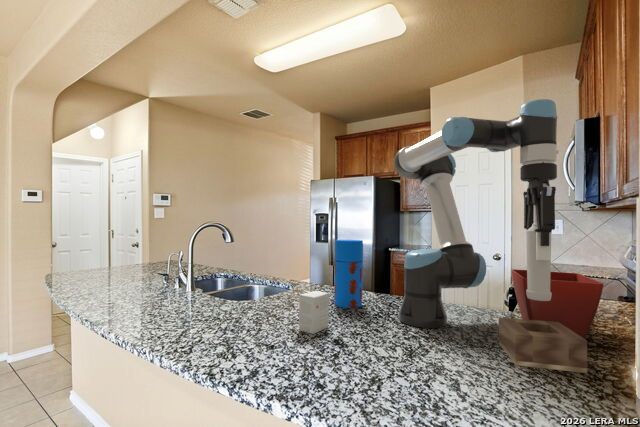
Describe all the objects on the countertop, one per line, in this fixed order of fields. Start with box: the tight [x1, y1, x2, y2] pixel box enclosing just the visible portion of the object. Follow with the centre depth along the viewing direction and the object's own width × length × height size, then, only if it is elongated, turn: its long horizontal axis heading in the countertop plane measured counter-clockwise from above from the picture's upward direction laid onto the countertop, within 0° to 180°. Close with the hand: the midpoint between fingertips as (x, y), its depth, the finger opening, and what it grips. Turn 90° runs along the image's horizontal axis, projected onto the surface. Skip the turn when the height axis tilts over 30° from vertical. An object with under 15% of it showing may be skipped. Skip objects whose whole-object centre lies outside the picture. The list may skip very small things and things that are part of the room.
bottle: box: [525, 205, 552, 301], centre depth 81 cm, size 5×5×25 cm
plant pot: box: [511, 268, 604, 339], centre depth 101 cm, size 19×19×17 cm
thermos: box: [334, 239, 364, 309], centre depth 129 cm, size 11×11×25 cm
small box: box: [298, 290, 330, 335], centre depth 99 cm, size 8×6×10 cm
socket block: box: [498, 316, 588, 374], centre depth 81 cm, size 14×14×7 cm
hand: (538, 258), depth 81 cm, fingers closed on bottle, 5 cm apart
